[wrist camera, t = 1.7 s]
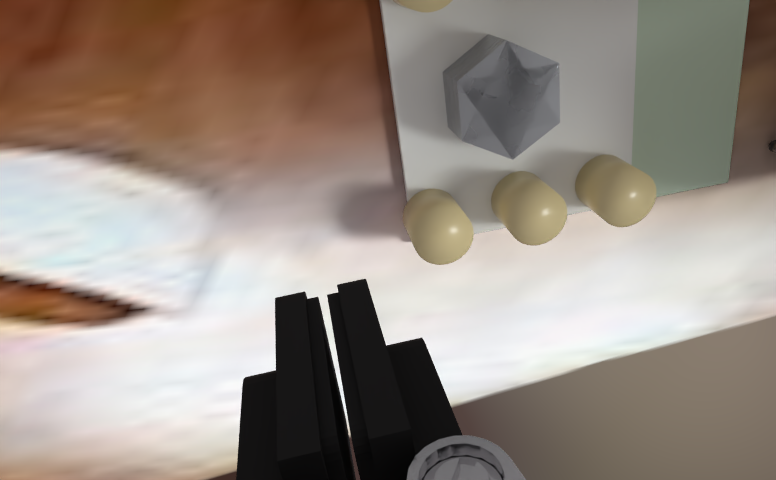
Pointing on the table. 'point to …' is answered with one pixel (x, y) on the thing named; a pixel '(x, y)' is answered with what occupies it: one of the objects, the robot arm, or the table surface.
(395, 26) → the spacer board
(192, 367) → the table surface
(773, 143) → the alarm clock
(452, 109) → the grey faceted block
